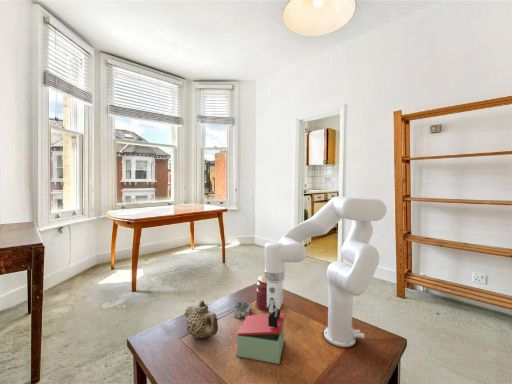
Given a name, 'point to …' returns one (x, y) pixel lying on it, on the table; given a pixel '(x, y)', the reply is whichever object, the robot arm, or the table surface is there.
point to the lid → (261, 325)
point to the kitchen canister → (262, 293)
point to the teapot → (201, 321)
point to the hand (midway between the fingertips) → (274, 320)
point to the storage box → (261, 346)
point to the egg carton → (242, 309)
